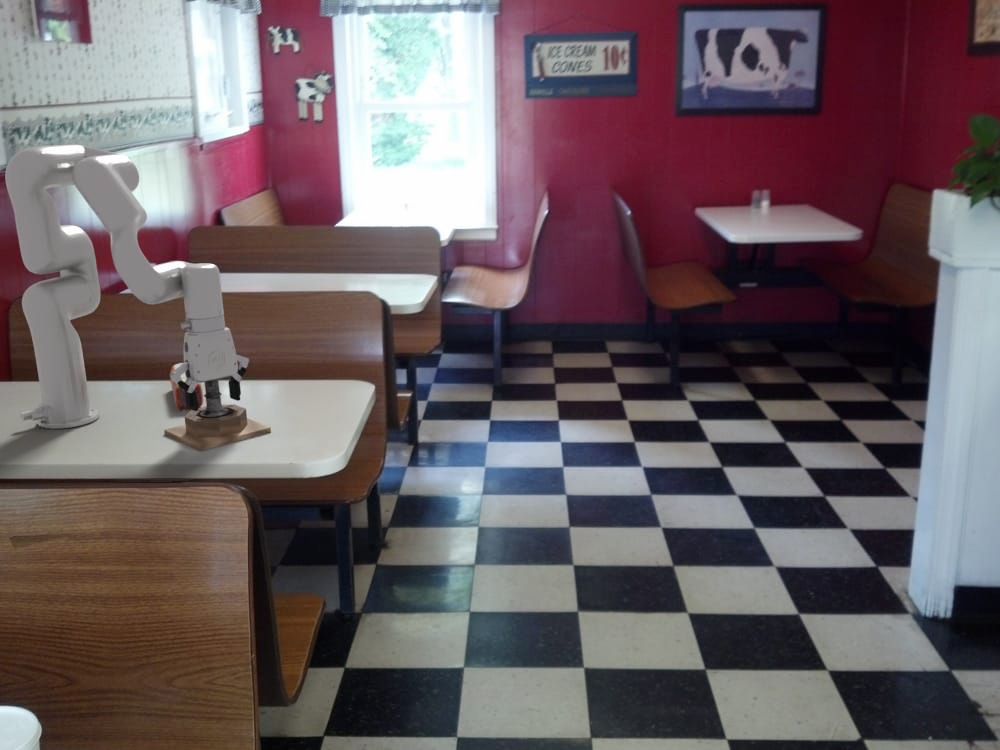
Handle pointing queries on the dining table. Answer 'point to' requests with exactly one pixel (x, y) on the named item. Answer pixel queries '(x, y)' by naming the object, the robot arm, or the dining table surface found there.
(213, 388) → the grey upright turned piece
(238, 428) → the collar
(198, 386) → the snack package
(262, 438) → the dining table surface
